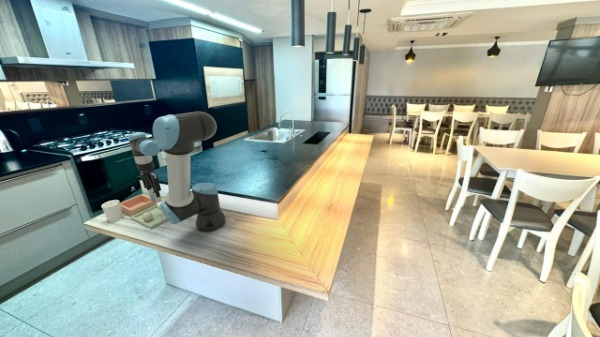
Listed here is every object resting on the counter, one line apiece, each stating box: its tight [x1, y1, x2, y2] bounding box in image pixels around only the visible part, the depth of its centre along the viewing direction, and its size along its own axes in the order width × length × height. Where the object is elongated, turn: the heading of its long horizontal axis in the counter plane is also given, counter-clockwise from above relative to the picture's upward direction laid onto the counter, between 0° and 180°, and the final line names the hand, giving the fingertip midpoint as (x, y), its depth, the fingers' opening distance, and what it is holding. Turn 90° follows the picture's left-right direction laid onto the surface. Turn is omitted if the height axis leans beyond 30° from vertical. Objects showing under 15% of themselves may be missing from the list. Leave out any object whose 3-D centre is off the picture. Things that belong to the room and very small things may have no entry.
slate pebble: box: [150, 194, 156, 203], centre depth 129 cm, size 5×5×5 cm
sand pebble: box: [142, 212, 153, 221], centre depth 127 cm, size 5×5×5 cm
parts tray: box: [130, 204, 169, 230], centre depth 131 cm, size 20×15×2 cm
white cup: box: [101, 199, 124, 222], centre depth 129 cm, size 8×8×10 cm
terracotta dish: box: [120, 193, 158, 217], centre depth 139 cm, size 15×14×5 cm
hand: (156, 200), depth 130 cm, fingers closed on slate pebble, 5 cm apart
